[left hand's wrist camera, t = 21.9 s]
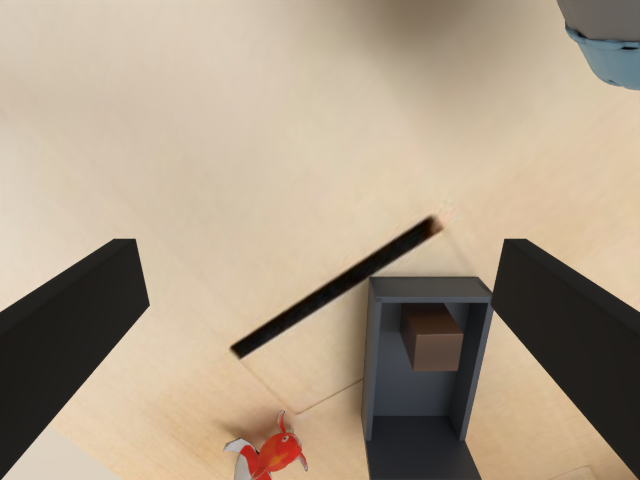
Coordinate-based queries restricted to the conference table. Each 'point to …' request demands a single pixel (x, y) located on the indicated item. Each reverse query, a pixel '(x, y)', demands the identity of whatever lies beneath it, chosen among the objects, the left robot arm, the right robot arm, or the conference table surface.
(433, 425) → the dark grey open box
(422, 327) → the block
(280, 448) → the fish
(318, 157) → the conference table surface
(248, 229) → the conference table surface
